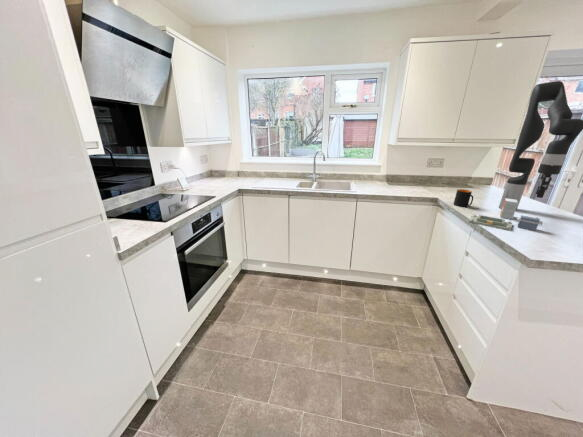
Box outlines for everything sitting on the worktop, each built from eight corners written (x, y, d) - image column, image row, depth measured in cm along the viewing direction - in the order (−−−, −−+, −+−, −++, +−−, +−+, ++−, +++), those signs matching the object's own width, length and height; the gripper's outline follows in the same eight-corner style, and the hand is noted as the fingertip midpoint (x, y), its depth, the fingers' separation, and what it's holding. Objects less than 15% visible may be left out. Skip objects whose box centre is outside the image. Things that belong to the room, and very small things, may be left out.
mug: (464, 208, 154) (469, 193, 151) (450, 203, 166) (454, 189, 162) (475, 208, 156) (480, 193, 152) (460, 203, 167) (464, 189, 163)
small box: (499, 214, 145) (505, 197, 141) (511, 216, 142) (517, 199, 138) (499, 217, 139) (505, 200, 135) (512, 219, 136) (518, 202, 132)
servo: (514, 224, 128) (518, 213, 126) (538, 229, 122) (543, 217, 120) (514, 226, 125) (518, 215, 123) (538, 231, 119) (544, 219, 117)
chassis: (471, 216, 140) (472, 212, 139) (511, 224, 128) (513, 220, 127) (468, 222, 132) (469, 217, 131) (510, 230, 120) (512, 226, 119)
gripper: (540, 161, 119) (528, 192, 125) (541, 164, 109) (528, 197, 115) (561, 163, 114) (548, 194, 120) (565, 165, 105) (550, 200, 110)
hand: (538, 196), depth 117 cm, fingers open, 8 cm apart
